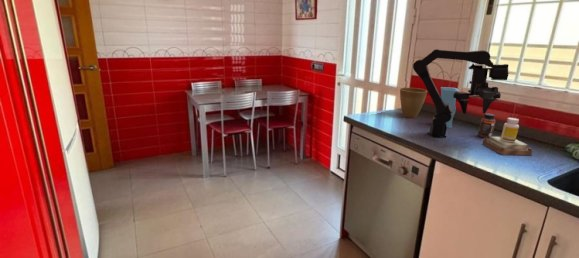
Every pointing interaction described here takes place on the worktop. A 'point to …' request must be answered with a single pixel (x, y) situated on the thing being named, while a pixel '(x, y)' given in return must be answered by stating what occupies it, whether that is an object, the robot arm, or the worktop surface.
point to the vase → (449, 101)
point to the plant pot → (412, 101)
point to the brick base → (506, 151)
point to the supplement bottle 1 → (487, 126)
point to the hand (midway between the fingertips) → (474, 113)
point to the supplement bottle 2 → (510, 130)
